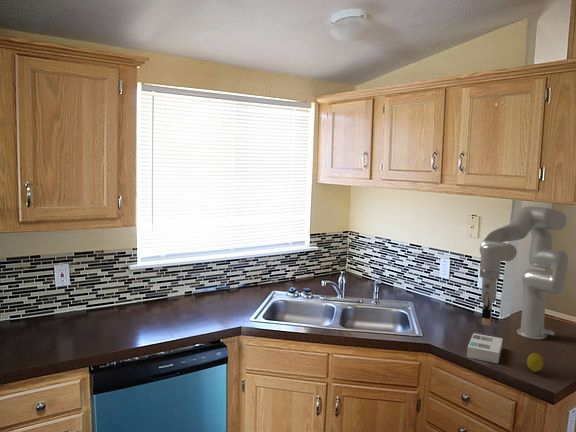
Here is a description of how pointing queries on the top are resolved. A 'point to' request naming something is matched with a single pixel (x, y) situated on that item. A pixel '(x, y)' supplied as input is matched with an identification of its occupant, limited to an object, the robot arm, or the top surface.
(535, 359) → the lemon
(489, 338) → the socket block
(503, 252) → the robot arm
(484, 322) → the light wood cylinder
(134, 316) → the top surface
